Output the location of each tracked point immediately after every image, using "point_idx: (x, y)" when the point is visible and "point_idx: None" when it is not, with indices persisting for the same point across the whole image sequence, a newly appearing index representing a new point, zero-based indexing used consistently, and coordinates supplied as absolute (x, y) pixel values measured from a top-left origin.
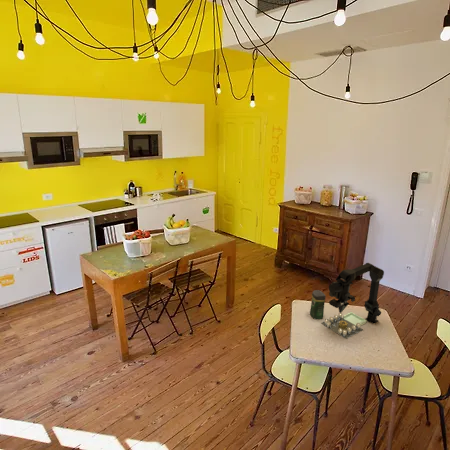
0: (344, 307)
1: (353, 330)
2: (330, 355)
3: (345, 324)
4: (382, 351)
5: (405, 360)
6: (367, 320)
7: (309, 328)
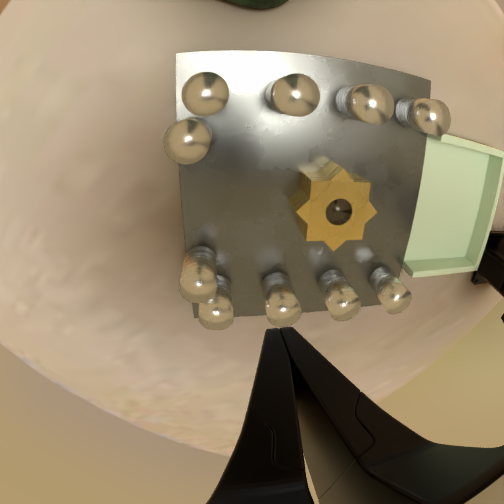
0: (314, 483)
1: (322, 296)
2: (29, 338)
3: (330, 239)
4: None
5: None
6: (483, 256)
7: (45, 74)
